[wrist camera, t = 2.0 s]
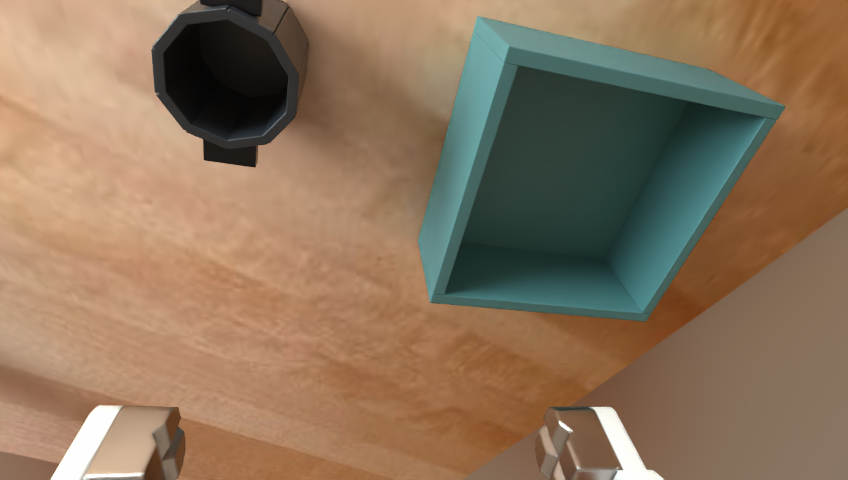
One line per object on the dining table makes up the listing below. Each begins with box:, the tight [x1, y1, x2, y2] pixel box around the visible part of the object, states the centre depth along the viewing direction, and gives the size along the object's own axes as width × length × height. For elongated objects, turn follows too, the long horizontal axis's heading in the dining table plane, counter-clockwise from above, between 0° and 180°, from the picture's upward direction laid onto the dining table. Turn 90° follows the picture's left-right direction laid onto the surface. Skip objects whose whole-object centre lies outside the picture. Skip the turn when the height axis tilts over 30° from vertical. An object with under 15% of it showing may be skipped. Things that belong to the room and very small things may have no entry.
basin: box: [418, 16, 785, 321], centre depth 32 cm, size 17×17×7 cm
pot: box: [152, 0, 309, 167], centre depth 26 cm, size 9×6×7 cm
